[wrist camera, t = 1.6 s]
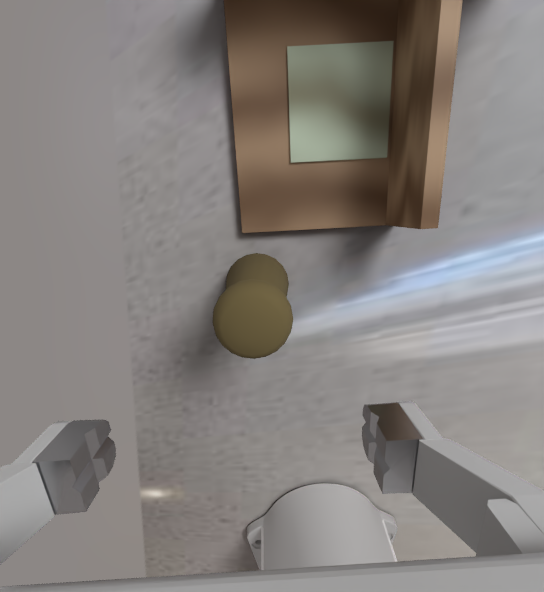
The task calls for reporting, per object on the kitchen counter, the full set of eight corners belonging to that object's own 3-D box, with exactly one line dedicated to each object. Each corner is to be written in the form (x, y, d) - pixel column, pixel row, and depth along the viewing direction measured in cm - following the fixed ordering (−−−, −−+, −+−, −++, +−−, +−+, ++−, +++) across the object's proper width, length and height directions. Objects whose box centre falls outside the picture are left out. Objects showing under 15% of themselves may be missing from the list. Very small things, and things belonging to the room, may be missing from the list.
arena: (395, 224, 26) (437, 228, 20) (242, 232, 26) (234, 239, 20) (412, -26, 21) (476, -132, 15) (223, -17, 21) (204, -118, 15)
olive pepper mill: (219, 304, 28) (190, 359, 18) (235, 245, 27) (214, 266, 16) (277, 321, 29) (284, 383, 18) (296, 263, 27) (316, 296, 17)
